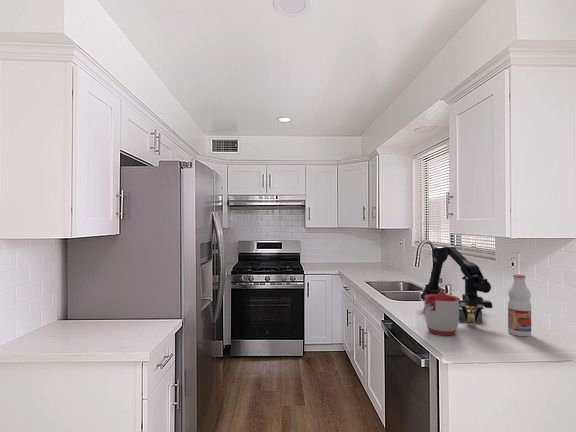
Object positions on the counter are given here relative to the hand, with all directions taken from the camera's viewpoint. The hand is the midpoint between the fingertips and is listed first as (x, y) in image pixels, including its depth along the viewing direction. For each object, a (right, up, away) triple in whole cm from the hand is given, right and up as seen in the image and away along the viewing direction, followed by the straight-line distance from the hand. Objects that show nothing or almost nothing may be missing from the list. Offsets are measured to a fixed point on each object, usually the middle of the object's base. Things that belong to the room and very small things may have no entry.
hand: (471, 319), depth 190 cm
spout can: (0, -2, 0) cm, 2 cm away
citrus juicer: (-21, -3, -13) cm, 25 cm away
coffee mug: (+15, -4, +28) cm, 32 cm away
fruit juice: (+16, -3, -15) cm, 22 cm away
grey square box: (+5, -3, +13) cm, 14 cm away
